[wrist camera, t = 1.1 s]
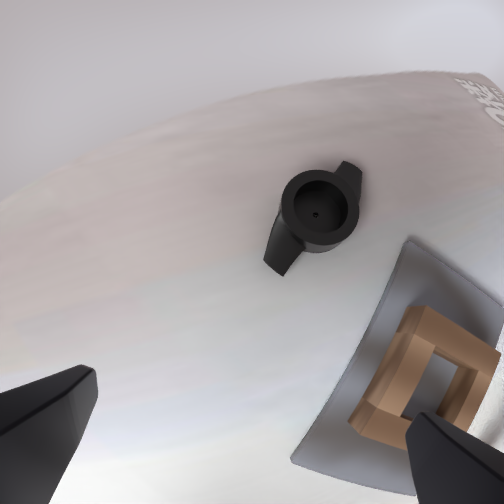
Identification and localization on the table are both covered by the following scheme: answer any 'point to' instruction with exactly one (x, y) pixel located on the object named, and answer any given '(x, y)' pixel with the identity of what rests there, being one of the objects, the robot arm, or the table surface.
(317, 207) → the black hollow winged cylinder
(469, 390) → the block
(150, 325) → the table surface
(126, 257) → the table surface
